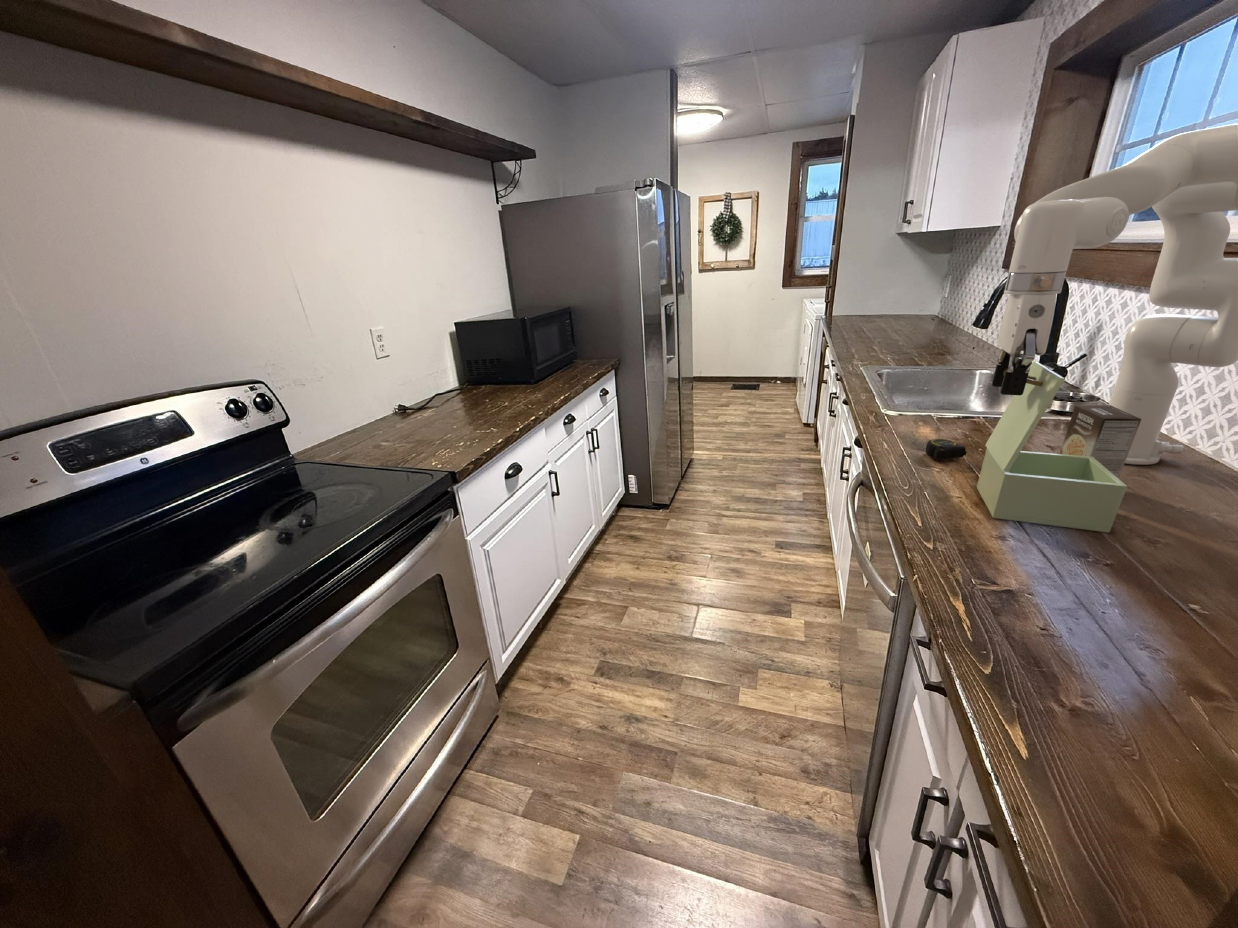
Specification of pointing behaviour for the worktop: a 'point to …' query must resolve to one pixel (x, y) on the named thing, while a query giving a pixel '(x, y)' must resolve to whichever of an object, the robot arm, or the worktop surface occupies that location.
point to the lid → (1023, 415)
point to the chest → (1052, 490)
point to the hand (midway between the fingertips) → (1006, 389)
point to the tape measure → (944, 449)
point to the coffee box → (1101, 435)
